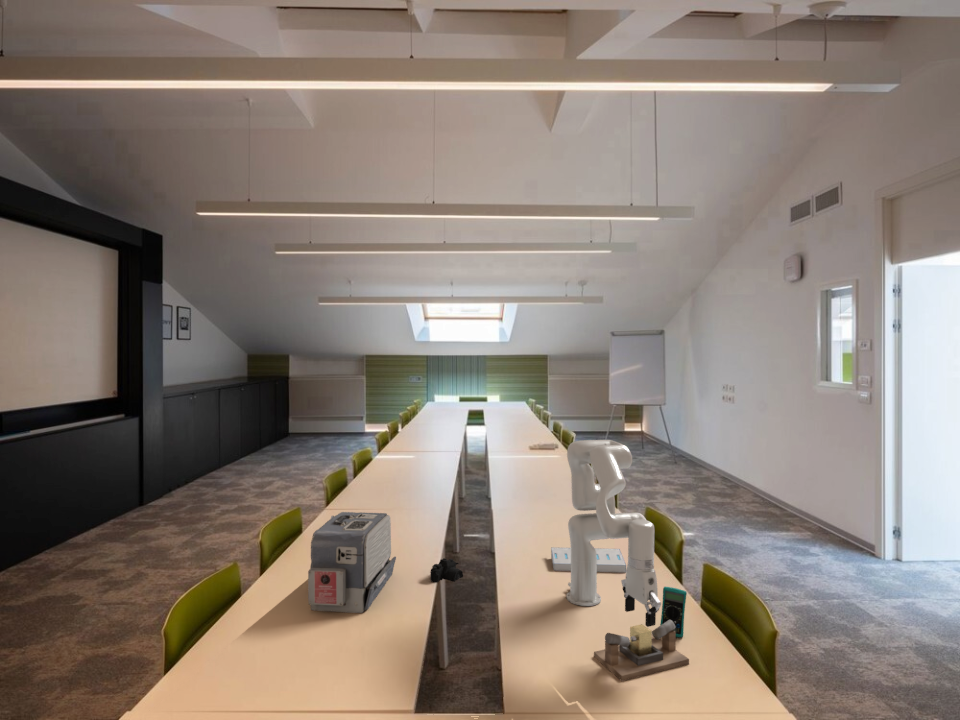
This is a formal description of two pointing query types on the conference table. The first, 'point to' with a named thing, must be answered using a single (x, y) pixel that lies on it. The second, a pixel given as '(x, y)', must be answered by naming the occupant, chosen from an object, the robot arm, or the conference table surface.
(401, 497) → the conference table surface
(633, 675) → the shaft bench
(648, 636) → the block
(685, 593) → the digital multimeter
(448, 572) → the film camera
